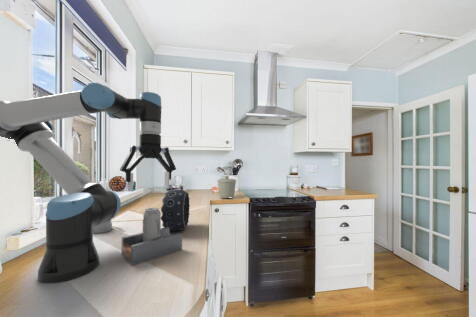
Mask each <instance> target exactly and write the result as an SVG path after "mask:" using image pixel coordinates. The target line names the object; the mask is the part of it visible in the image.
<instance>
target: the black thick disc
mask: <svg viewBox="0 0 476 317" xmlns="http://www.w3.org/2000/svg"><path fill="white" fill-rule="evenodd" d="M189 196H190V195H189V192H188V191H185V190H183V189H172V190H169V191H167V192H165V193H164V196H163V198H162V199H161V200H162V206H161V208H160V212H161V222H162V224H161V226H162V228H165V227H169V231H173V232H174V231H181V230H184V229H186V228H187V227H188V224H189V220H190V219H189V217H190V208H191V207H190V205H191V204H190V197H189Z"/></svg>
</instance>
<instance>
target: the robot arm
mask: <svg viewBox="0 0 476 317" xmlns="http://www.w3.org/2000/svg"><path fill="white" fill-rule="evenodd" d="M162 107H163V106H162V97H161V96H160V95H159V94H158V93H155V92H151V91H145V92H141V93H140V94H139V98H127V97H125V96H123V95H121V94H120V93H118V92H116V91H114V90H112V89H111V88H110V87H108V86H107V85H103V84H102V83H99V82H89V83H87V84H86V85H84V87H83V88H82V89H81V90H77V91H76V90H75V91H71V92H65V93H59V94H58V93H57V94H53V95H46V96H41V97H36V98H35V97H34V98H27V99H23V100H17V101H12V102H10V101H7V100H0V136H1V137H5V138H8V139H14V140H15V142H16V144H17V146H18V147H17V146H16V147H17V148H18V149H19V150H20V151H22V152H25V153H27V152H28V153H29V154H30V155H31V156H32V157H33V158H34V159H35V160H36V161H37V162H38V163H39V164H40V166H41V167H42V168H43V169H44V170H45V171H46V172H47V173H48V174H49V176H50V177H51V178H52V179H53V180H54V181H55V182H56V184H57V185H58V186H59V187H60V188H61V189H62V190H63V191H64V193H66V194H63V195H59V196H56V197H54V198H51V200H49V201H48V203H47V205H46V211H45V221H46V222H45V233H46V234H45V239H46V240H45V241H46V242H45V243H46V244H45V251H44V255H43V257H42V259H41V262H40V264H39V267H38V270H37V280H38V281H39V282H41V283H60V282H64V281H65V282H66V281H69V280H73V279H77V278H80V277H81V276H83V275H86V274H88V273H91V272H92V271H94V270H95V269H96V268H97V267H98V266H99V264H100V255H99V254H98V251H97V248H96V246H95V244H94V238H93V237H94V233H93V227H96V226H98V225H100V224H102V223H105V222H107V221H109V220H111V221H112V219H113V218H115V217H116V216H117V215H119V214H118V213H119V212H120V211H121V205H122V204H121V198H120V197H119V195H118V194H117V193H116V192H115V191H112V190H106V188H104V186H103V185H102V184H101V183H99V182H93V180H91V179H90V178H89V176H87V174H86V173H85V172H84V171H83V170H82V169H81V168H80V167H79V166H78V164H77V163H76V162H75V161H74V160H73V158H71V157H70V156H69V154H67V152H65V150H64V149H63V148H62V147H61V146H60V145H59V144H58V143H57V141H56V140H55V138H56V135H55V128H54V124H53V123H52V122H51V121H57V120H62V119H66V118H74V117H80V116H85V115H90V114H98V113H103V112H104V113H106V115H108V117H109V118H111V119H118V120H122V119H132V120H133V119H134V120H135V119H138V120H139V133H140V134H139V145H138V146H136V145H131V146H130V147H129V152H128V154H127V156H126V157H125V160H124V161H123V163H122V165H121V167H120V168H119V171H120V172H123V173H125V182H126V183H127V184H128V186H127V188H128V192H134V172H133V170H134V169H135V168H136V167H137V166H138V165H139V164H140V163H141V162H142V160H143V159H156V160H157V161H158V163H159V164H160V165H161V166H162V167H163V169H164V170H165V171H164V189H170V181H171V180H172V172H173V171H176V170H177V168H176V166H175V162H174V161H173V159H172V156H171V154H170V152H169V151H170V150H169V149H170V148H169V147H162V145H161V144H162V135H161V133H162V109H163V108H162ZM10 137H11V138H10ZM137 152H139V155H138V156H137V158H135V160H134V161H133V162H132V163H131V161H132V160H133V157H134V155H135V154H136V153H137ZM160 153H163V155H164V158H165V159H164V158H163V156H162V154H160ZM130 163H131V164H130Z"/></svg>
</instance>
